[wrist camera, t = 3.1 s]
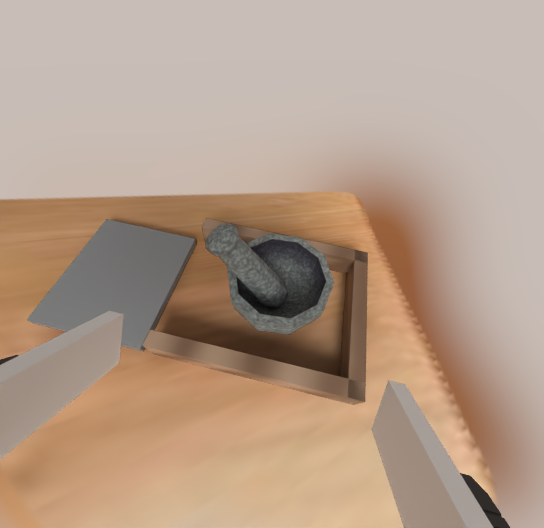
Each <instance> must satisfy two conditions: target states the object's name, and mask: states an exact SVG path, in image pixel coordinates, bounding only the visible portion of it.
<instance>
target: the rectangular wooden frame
mask: <svg viewBox="0 0 544 528" xmlns="http://www.w3.org/2000/svg"><path fill="white" fill-rule="evenodd" d="M226 223H227V222H222V221H218V220H213V219H209V218H206V219H205V221H204V223H203V225H202V230H203V234H204V238H205V242H206V239H207V237H208V235H209V234H210V232H211V231H212V230H213V229H215V228H216V227H217V226H219V225H222V224H226ZM228 224H231V225H233V226H235V227H236V229H237V230H238V234H239V237H240V238H241V239H242V240H243V241H244V242H245V243H247V242H250V241H252V240H255V239H258V238H260V237H263V236H265V235H268V234H278V233H274V232H269V231H264V230H260V229H255V228H250V227H246V226H241V225H236V224H232V223H228ZM278 235H283V234H278ZM285 236H288V235H285ZM303 240H304V241H306V242H307V243H308V244H310V245H311V246H313V247H314V248H315V249H317V250H318V251H319V252H321V253H322V254H323V255H324V256H325V258H326V261H327V264H328V267H329V269H330V270H334V271H338V272H343V273H347V274H346V288H345V303H344V317H343V331H342V346H341V360H340V374H339V376H335V375H331V374H327V373H323V372H319V371H315V370H311V369H307V368H303V367H299V366H295V365H291V364H287V363H283V362H279V361H275V360H271V359H267V358H263V357H259V356H255V355H251V354H247V353H243V352H239V351H235V350H230V349H226V348H222V347H218V346H214V345H210V344H206V343H202V342H198V341H194V340H190V339H186V338H182V337H178V336H174V335H170V334H166V333H162V332H158V331H154V330H150V331H149V333H148V335H147V337H146V339H145V341H144V343H143V345H142V346H144V347H145V348H146V349H147V350H149V351H150V352H151V353H153V354H156V355H160V356H164V357H168V358H172V359H175V360H179V361H183V362H187V363H191V364H195V365H199V366H203V367H207V368H211V369H215V370H219V371H223V372H227V373H230V374H234V375H238V376H242V377H246V378H250V379H254V380H258V381H262V382H266V383H270V384H274V385H278V386H282V387H286V388H289V389H293V390H297V391H301V392H305V393H309V394H313V395H317V396H321V397H325V398H329V399H333V400H337V401H341V402H344V403H348V404H352V405H355V404H359V403H363V402H365V386H366V326H367V266H368V253H367V252H362V251H358V250H353V249H348V248H344V247H339V246H334V245H330V244H325V243H320V242H316V241H311V240H306V239H303Z"/></svg>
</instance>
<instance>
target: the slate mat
mask: <svg viewBox="0 0 544 528" xmlns="http://www.w3.org/2000/svg"><path fill="white" fill-rule="evenodd" d="M196 244H197V243H196V239H195V238H190V237H185V236H181V235H176V234H172V233H167V232H163V231H158V230H154V229H149V228H145V227H140V226H136V225H131V224H127V223H122V222H118V221H113V220H108V219H106V221H105V222H104V223H103V224H102V226H101V227H100V228H99V229H98V231H97V232H96V233H95V234H94V236H93V237H92V238H91V239H90V241H89V242H88V243H87V244H86V246H85V247H84V248H83V249H82V251H81V252H80V253H79V254H78V256H77V257H76V258H75V260H74V261H73V262H72V263H71V265H70V266H69V267H68V268H67V270H66V271H65V272H64V273H63V275H62V276H61V277H60V278H59V280H58V281H57V282H56V283H55V285H54V286H53V287H52V288H51V290H50V291H49V292H48V293H47V295H46V296H45V297H44V298H43V300H42V301H41V302H40V304H39V305H38V306H37V307H36V309H35V310H34V311H33V312H32V314H31V315H30V316H29V317H28V319H27V320H28V321H30V322H32V323H34V324H38V325H42V326H46V327H50V328H54V329H58V330H61V331H65V332H68V331H70V330H72V329H74V328H76V327H78V326H80V325H82V324H84V323H86V322H88V321H90V320H92V319H94V318H96V317H98V316H100V315H102V314H104V313H106V312H108V311H112V312H116V313H120V314H124V315H123V326H122V337H121V346H124V347H128V348H132V349H136V350H140V351H144V350H145V347H144V346H142V345H143V343H144V341H145V339H146V337H147V335H148V333H149V331H150V330H154V329H155V327H156V325H157V323H158V321H159V319H160V317H161V315H162V313H163V311H164V309H165V307H166V305H167V303H168V301H169V299H170V297H171V295H172V293H173V291H174V289H175V287H176V285H177V283H178V281H179V279H180V277H181V275H182V272H183V270H184V268H185V266H186V264H187V262H188V260H189V258H190V256H191V254H192V252H193V250H194V248H195V246H196Z"/></svg>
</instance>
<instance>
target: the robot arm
mask: <svg viewBox="0 0 544 528" xmlns="http://www.w3.org/2000/svg"><path fill="white" fill-rule="evenodd" d="M123 315H124V314H120V313H116V312H112V311H108V312H106V313H104V314H102V315H100V316H98V317H96V318H94V319H92V320H90V321H88V322H86V323H84V324H82V325H80V326H78V327H76V328H74V329H72V330H70V331H68V332H66V333H64V334H61V335H59V336H57V337H55V338H53V339H51V340H49V341H47V342H45V343H43V344H41V345H39V346H37V347H35V348H33V349H31V350H29V351H27V352H25V353H23V354H21V355H15V356H11V357H8V358H5V359H1V360H0V459H2V458H3V457H4V456H5V455H7V454H8V453H9V452H10V451H12V450H13V449H14V448H15V447H16V446H18V445H19V444H20V443H21V442H23V441H24V440H25V439H26V438H27V437H29V436H30V435H31V434H32V433H34V432H35V431H36V430H37V429H39V428H40V427H41V426H42V425H43V424H45V423H46V422H47V421H48V420H50V419H51V418H52V417H53V416H55V415H56V414H57V413H58V412H59V411H61V410H62V409H63V408H64V407H66V406H67V405H68V404H69V403H71V402H72V401H73V400H74V399H75V398H77V397H78V396H79V395H80V394H82V393H83V392H84V391H85V390H87V389H88V388H89V387H90V386H91V385H93V384H94V383H95V382H96V381H98V380H99V379H100V378H101V377H103V376H104V375H105V374H106V373H107V372H109V371H110V370H111V369H112V368H114V367H115V366H116V365H117V364H118V363H119V360H120V349H121V337H122V326H123ZM372 432H373V435H374V438H375V441H376V444H377V447H378V450H379V453H380V456H381V459H382V462H383V465H384V468H385V471H386V474H387V477H388V480H389V483H390V486H391V490H392V493H393V496H394V499H395V502H396V505H397V508H398V511H399V514H400V517H401V520H402V523H403V526H404V528H510V527H509V525H508V524H507V522H506V521H505V519H504V518H502V517H501V513H500V512H499V510H498V509H497V507H496V506H495V504H494V503H493V501H492V500H491V498H490V497H489V495H488V494H487V493H486V492H485V491H484V490H483V489H482V488H481V487H480V485H479V484H478V483H477V482H476V481H475V480H474V479H473V478H472V477H471V476H469V475H465V474H461V473H459V471H458V469H457V468H456V466H455V465H454V463H453V461H452V460H451V458H450V456H449V455H448V453H447V452H446V450H445V448H444V447H443V445H442V443H441V442H440V440H439V439H438V437H437V435H436V434H435V432H434V430H433V429H432V427H431V426H430V424H429V422H428V421H427V419H426V418H425V416H424V414H423V413H422V411H421V409H420V408H419V406H418V405H417V403H416V401H415V400H414V398H413V396H412V395H411V393H410V392H409V390H408V388H407V387H406V385H405V384H401V383H397V382H393V381H389V380H388V383H387V386H386V389H385V392H384V395H383V397H382V400H381V403H380V406H379V409H378V412H377V415H376V418H375V421H374V424H373V427H372Z"/></svg>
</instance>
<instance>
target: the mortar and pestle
mask: <svg viewBox="0 0 544 528" xmlns="http://www.w3.org/2000/svg"><path fill="white" fill-rule="evenodd" d="M206 249H207V250H208V251H209V252H210V253H212V254H213V255H215V256H219V257H220V259H221V260H222V261H223V262H224V263H225V264H226V265H227V266H228V267H227V269H228V278H229V286H230V295H231V301H232V305H233V306H234V308H235V309H236V310H237V311H238V312H239V313H240V314H241V315H242V316H243V317H244V318H245V319H246V320H247V321H248V322H249V323H250V324H251V325H252V326H253V327H254V328H255V329H256V330H259V331H266V332H273V333H280V334H288V335H289V334H291V333H292V332H294V331H296V330H298V329H300V328H302V327H303V326H305V325H307V324H309V323H311V322H313V321H315V320H316V319H317V318H318V317H320V316H321V314H322V312H323V311H324V308H325V305H326V303H327V300H328V298H329V295H330V292H331V290H332V287H333V284H334V280H333V278H332V275H331V272H330V269H329V267H328V264H327V261H326V258H325V256H324V255H323V254H322V253H321V252H319V251H318V250H317V249H315V248H314V247H313V246H311V245H310V244H308V243H307V242H306V241H304V240H303V239H302V238H300V237H293V236H285V235H278V234H268V235H265V236H263V237H260V238H258V239H255V240H252V241H250V242H247V243H245V242H244V241H243V240H242V239H241V238H240V237H239V234H238V230H237V229H236V227H235V226H233V225H231V224H228V223H226V224H222V225H219V226H217V227H216V228H215V229H213V230H212V231H211V232H210V234H209V235H208V237H207V239H206Z"/></svg>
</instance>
